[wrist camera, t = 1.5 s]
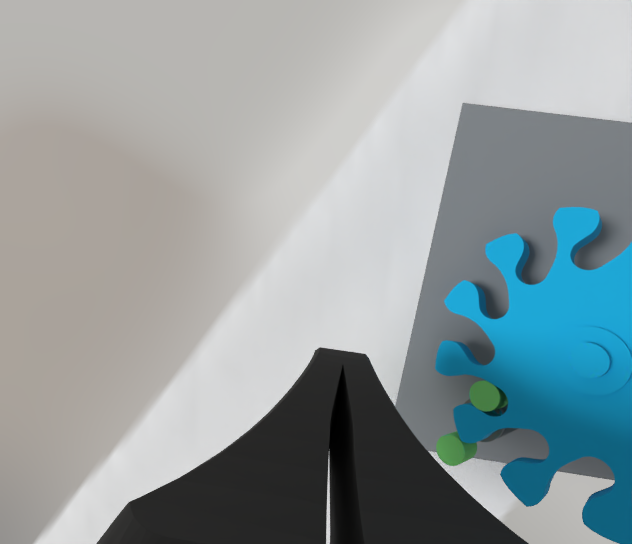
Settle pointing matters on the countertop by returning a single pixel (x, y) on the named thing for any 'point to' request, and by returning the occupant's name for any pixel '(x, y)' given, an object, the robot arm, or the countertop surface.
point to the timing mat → (499, 220)
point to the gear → (552, 369)
